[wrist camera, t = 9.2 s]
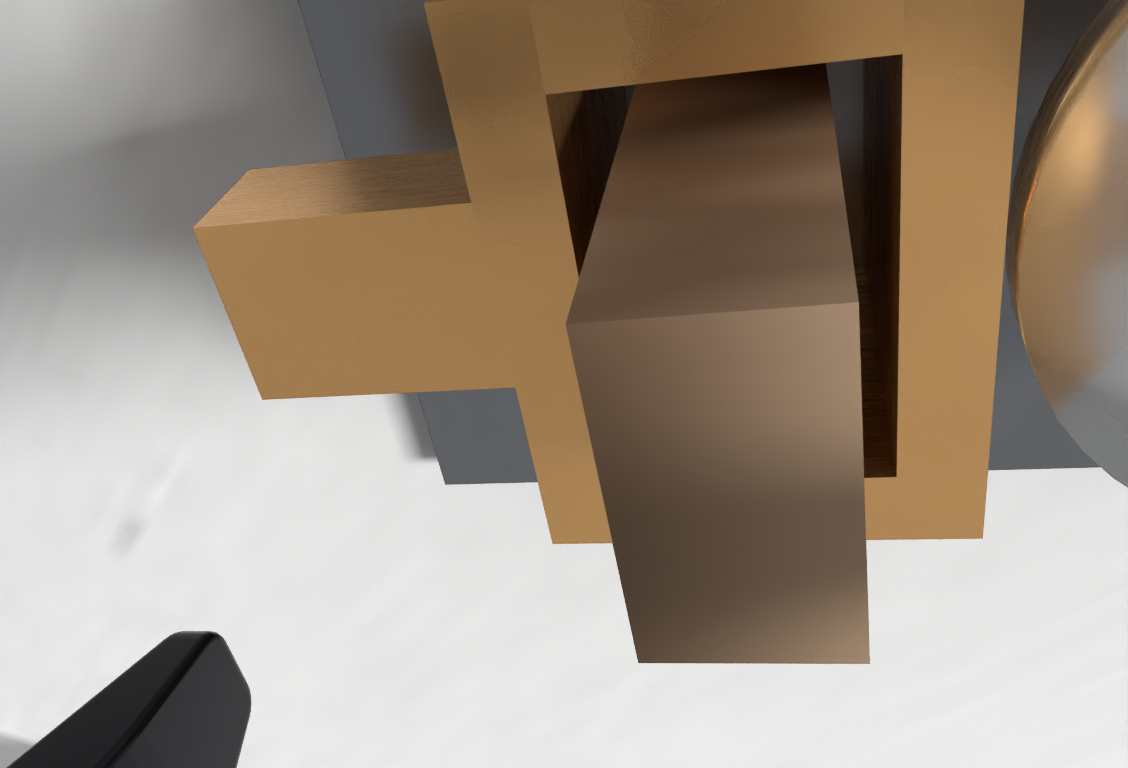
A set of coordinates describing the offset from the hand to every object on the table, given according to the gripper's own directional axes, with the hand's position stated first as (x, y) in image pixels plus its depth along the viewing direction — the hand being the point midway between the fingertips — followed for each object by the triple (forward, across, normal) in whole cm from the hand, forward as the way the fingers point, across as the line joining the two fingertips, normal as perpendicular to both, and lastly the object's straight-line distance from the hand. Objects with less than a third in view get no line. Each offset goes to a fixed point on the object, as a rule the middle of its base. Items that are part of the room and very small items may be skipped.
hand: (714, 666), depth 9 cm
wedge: (+12, 0, 0) cm, 12 cm away
